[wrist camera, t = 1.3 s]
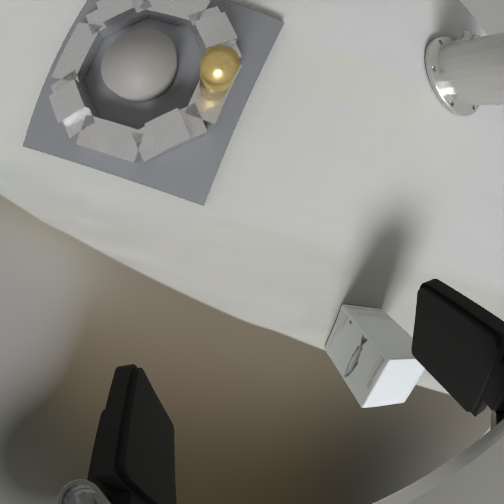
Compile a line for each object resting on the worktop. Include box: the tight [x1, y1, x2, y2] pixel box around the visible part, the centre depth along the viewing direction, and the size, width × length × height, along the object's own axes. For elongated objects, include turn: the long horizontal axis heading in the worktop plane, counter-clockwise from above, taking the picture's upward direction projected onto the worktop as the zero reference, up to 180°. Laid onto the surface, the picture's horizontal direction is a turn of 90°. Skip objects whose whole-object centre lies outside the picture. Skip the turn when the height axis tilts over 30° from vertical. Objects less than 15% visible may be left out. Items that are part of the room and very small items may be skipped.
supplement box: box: [325, 304, 425, 408], centre depth 34 cm, size 7×7×13 cm
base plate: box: [23, 0, 284, 206], centre depth 24 cm, size 22×22×5 cm
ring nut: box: [49, 0, 242, 162], centre depth 19 cm, size 18×18×10 cm
